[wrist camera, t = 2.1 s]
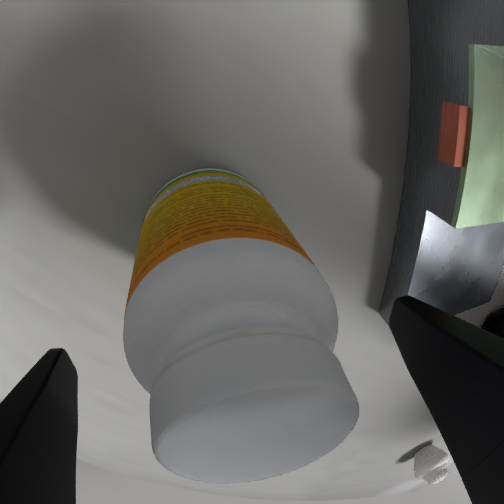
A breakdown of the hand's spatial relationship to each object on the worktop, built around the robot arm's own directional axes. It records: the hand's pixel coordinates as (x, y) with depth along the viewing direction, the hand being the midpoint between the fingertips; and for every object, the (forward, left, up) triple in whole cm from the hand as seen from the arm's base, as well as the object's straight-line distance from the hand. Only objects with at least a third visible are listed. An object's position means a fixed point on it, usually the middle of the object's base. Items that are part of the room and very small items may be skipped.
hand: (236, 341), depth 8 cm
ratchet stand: (+5, -14, -7) cm, 16 cm away
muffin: (-41, -28, -7) cm, 50 cm away
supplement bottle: (0, 0, -7) cm, 7 cm away
